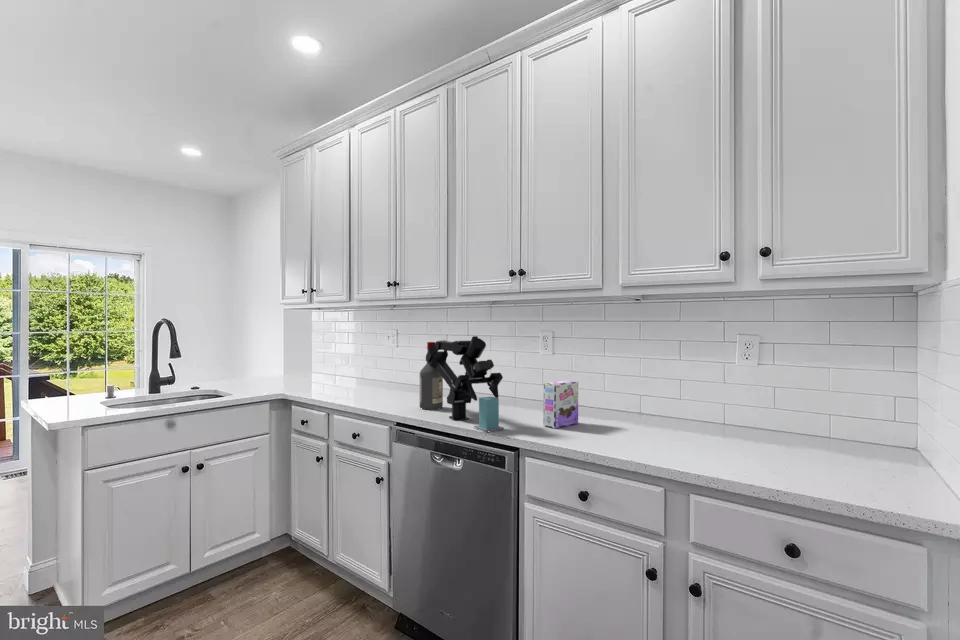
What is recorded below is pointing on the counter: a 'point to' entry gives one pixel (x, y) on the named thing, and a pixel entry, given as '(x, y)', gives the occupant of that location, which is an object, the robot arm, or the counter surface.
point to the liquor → (431, 386)
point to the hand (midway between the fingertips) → (487, 399)
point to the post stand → (489, 429)
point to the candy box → (560, 404)
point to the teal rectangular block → (489, 412)
